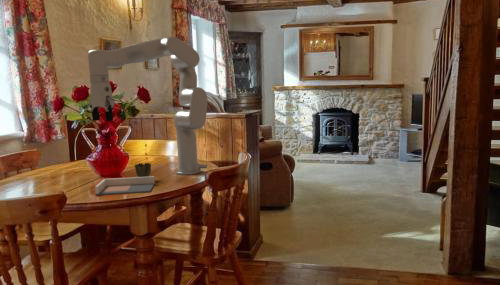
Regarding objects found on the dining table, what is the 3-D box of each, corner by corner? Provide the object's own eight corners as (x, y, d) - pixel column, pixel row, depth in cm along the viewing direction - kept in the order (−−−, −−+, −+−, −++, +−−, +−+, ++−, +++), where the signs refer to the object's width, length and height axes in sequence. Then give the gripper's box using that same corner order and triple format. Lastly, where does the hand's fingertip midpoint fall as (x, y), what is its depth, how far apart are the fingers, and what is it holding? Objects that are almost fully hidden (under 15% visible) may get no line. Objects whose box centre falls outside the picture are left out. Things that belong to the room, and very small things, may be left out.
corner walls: (154, 182, 194) (154, 176, 193) (150, 190, 179) (149, 183, 179) (104, 185, 192) (103, 179, 192) (95, 193, 177) (94, 186, 177)
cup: (153, 178, 206) (152, 162, 205) (150, 182, 198) (149, 165, 197) (137, 179, 205) (136, 162, 204) (134, 182, 198) (132, 165, 197)
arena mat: (154, 184, 194) (154, 182, 194) (150, 192, 179) (150, 190, 179) (104, 186, 192) (104, 185, 192) (95, 195, 177) (95, 193, 177)
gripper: (119, 79, 179) (122, 120, 181) (95, 80, 189) (99, 119, 192) (103, 79, 173) (106, 122, 175) (80, 80, 184) (83, 121, 186)
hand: (102, 120), depth 183 cm, fingers open, 9 cm apart
